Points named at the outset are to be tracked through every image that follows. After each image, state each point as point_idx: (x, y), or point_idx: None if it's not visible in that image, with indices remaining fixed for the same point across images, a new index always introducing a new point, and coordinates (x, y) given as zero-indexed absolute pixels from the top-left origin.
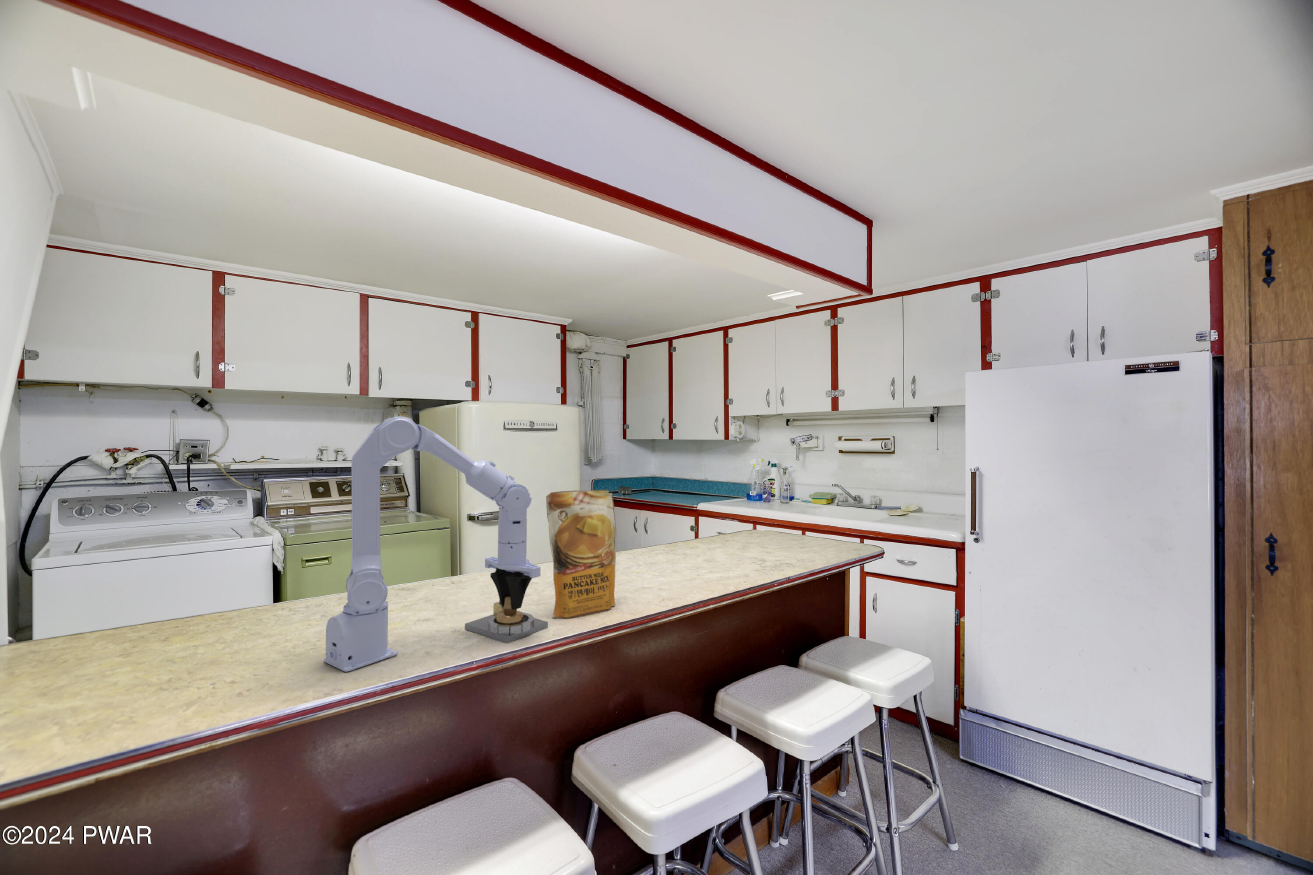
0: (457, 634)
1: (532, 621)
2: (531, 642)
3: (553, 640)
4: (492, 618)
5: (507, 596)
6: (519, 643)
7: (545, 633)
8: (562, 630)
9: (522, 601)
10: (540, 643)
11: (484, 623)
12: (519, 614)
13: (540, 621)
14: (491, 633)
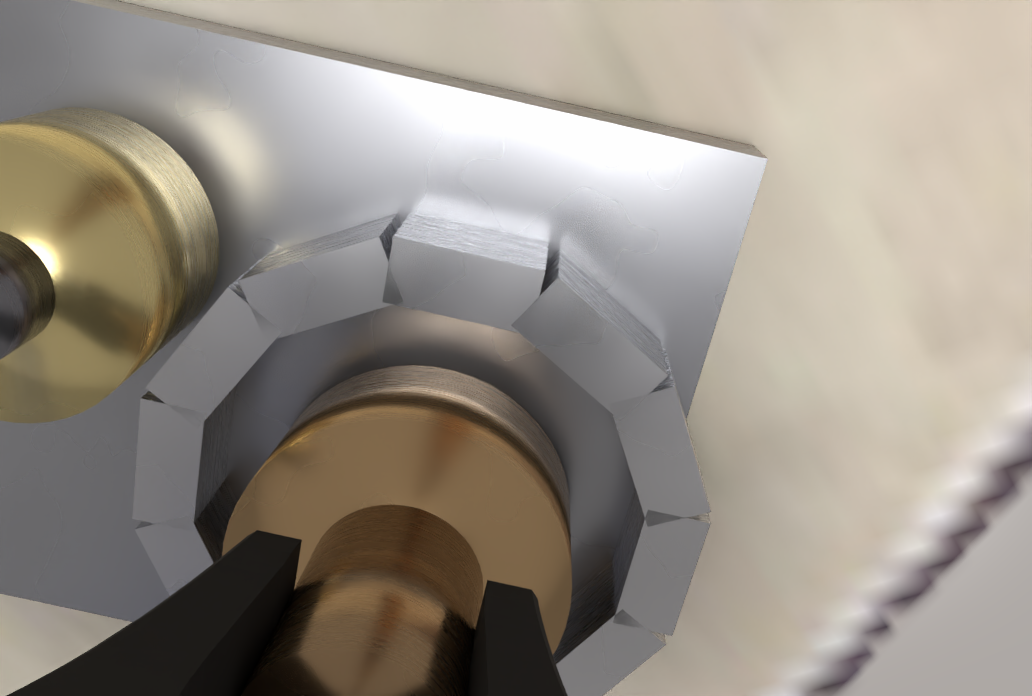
0: (18, 655)
1: (694, 453)
2: (801, 589)
3: (1006, 474)
4: (193, 578)
5: None
6: (701, 643)
7: (824, 333)
8: (989, 166)
9: (546, 644)
10: (904, 581)
11: (94, 502)
12: (531, 560)
13: (666, 194)
14: None
